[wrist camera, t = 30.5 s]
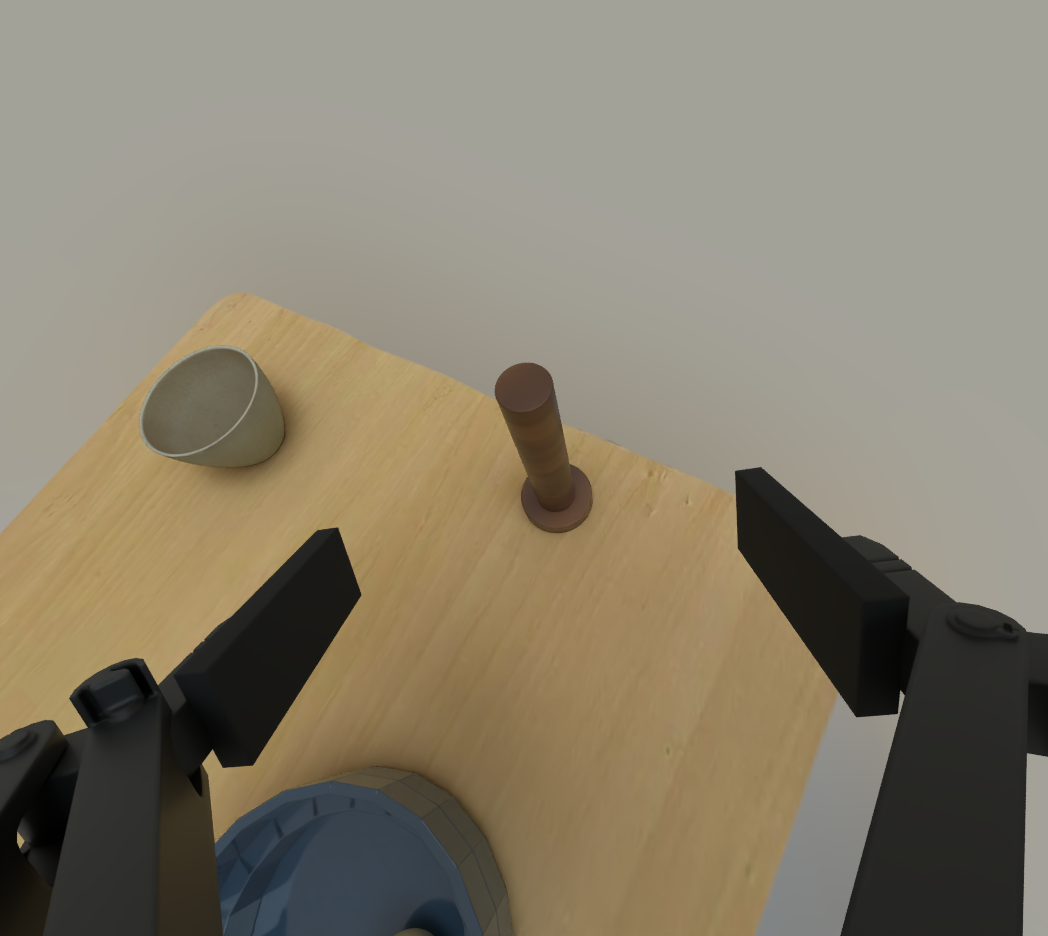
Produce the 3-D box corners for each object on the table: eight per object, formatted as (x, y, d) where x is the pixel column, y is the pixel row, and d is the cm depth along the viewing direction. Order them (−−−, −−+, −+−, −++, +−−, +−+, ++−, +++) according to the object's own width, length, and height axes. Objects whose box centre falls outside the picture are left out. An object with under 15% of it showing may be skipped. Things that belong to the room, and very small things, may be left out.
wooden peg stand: (605, 488, 36) (600, 367, 22) (568, 546, 35) (538, 454, 21) (548, 457, 38) (510, 327, 24) (510, 510, 37) (448, 405, 23)
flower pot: (221, 400, 46) (157, 354, 40) (317, 386, 45) (268, 336, 38) (195, 497, 42) (120, 463, 36) (301, 485, 41) (242, 447, 34)
